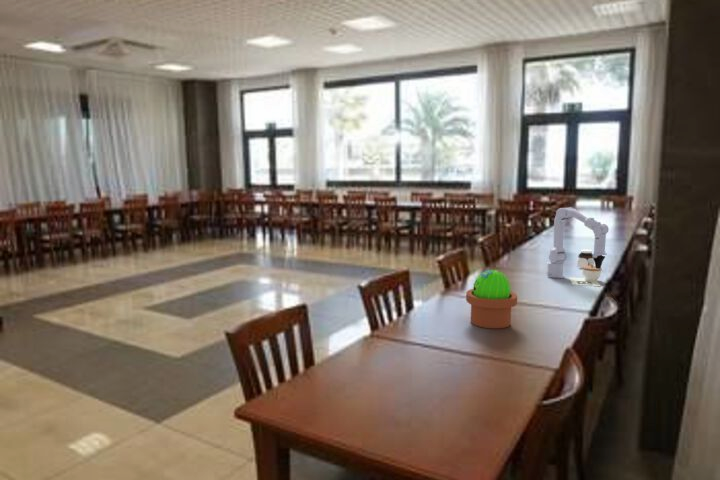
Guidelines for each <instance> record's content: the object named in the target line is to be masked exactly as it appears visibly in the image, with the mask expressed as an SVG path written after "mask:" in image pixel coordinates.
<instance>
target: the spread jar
mask: <svg viewBox="0 0 720 480" xmlns="http://www.w3.org/2000/svg"><path fill="white" fill-rule="evenodd" d="M580 251H581V252H580V253H579V254H578V256H577V262H576V263H577V267H578V268H579V269H581V270H582V267H583V266H591V265H593V266H595V261H594V259H593V250H592V249H581V250H580Z"/></svg>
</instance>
